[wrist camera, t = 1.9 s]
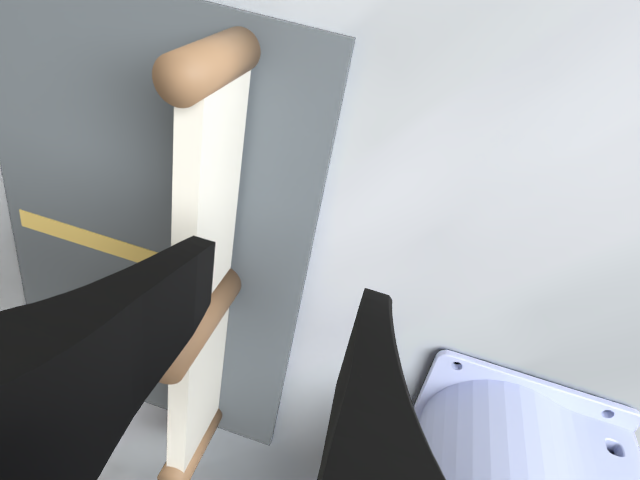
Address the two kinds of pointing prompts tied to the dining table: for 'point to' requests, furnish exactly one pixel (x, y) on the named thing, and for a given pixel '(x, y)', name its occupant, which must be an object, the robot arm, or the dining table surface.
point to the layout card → (166, 164)
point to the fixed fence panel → (197, 386)
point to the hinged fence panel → (208, 134)
